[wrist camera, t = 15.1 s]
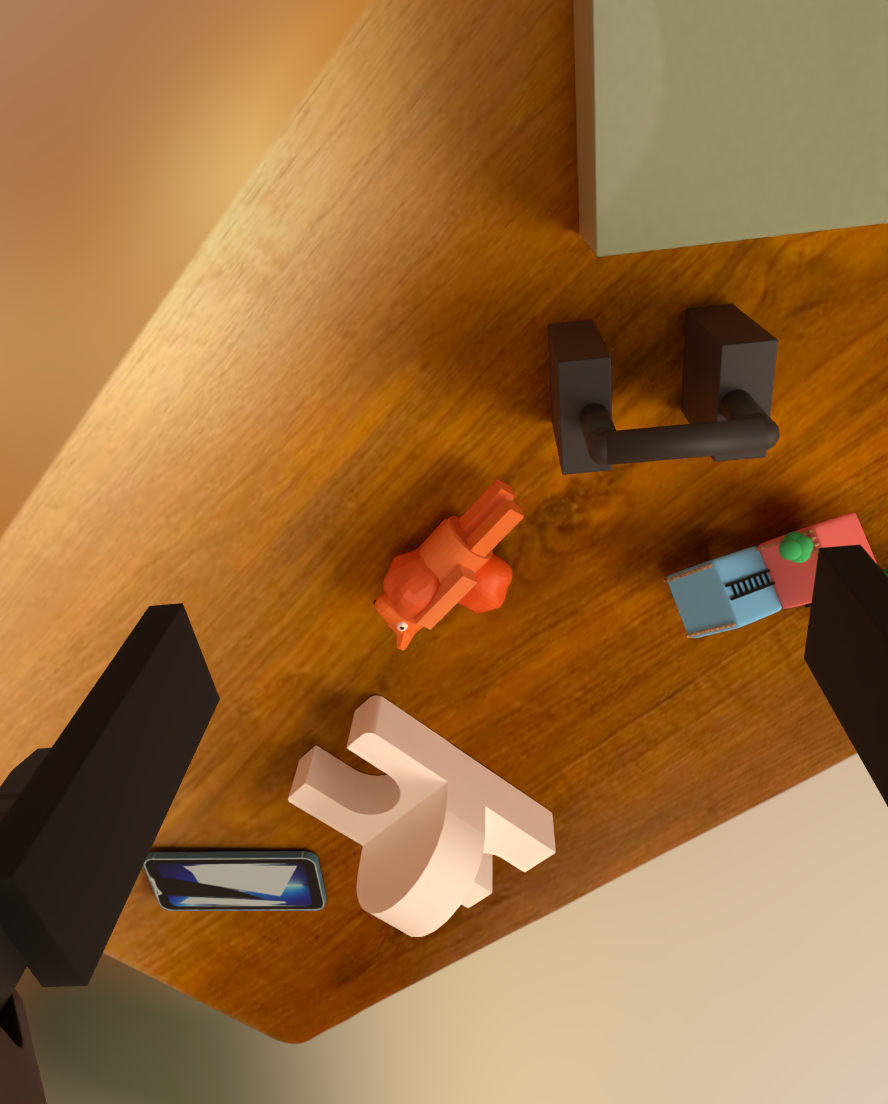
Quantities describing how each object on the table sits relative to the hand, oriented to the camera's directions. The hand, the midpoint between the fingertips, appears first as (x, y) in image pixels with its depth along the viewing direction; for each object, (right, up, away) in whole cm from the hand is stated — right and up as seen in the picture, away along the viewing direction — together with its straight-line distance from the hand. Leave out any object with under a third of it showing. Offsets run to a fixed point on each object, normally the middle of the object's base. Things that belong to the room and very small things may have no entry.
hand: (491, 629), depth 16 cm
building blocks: (+20, +1, +31) cm, 37 cm away
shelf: (+14, +23, +17) cm, 32 cm away
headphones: (+10, +12, +25) cm, 29 cm away
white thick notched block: (-2, -17, +43) cm, 46 cm away
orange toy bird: (0, +2, +31) cm, 32 cm away
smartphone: (-19, -27, +49) cm, 59 cm away
